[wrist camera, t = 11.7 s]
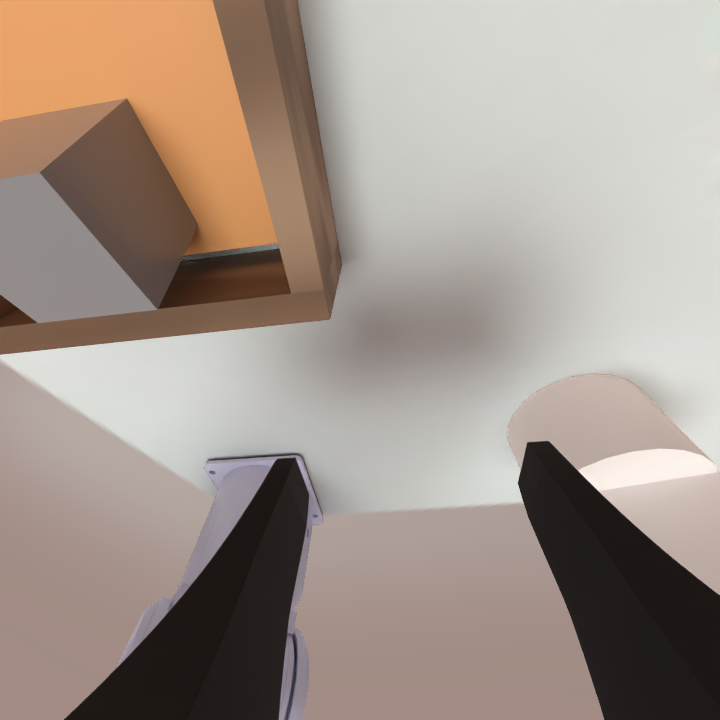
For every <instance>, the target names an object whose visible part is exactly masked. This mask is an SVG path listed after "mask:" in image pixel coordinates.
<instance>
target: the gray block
mask: <svg viewBox="0 0 720 720" xmlns="http://www.w3.org/2000/svg"><path fill="white" fill-rule="evenodd" d="M197 227H198V223H197V222H196V220H195V218H194V216H193V214H192V213H191V211H190V209H189V207H188V206H187V204H186V202H185V200H184V199H183V197H182V195H181V193H180V191H179V190H178V188H177V186H176V184H175V183H174V181H173V179H172V177H171V176H170V174H169V172H168V170H167V168H166V167H165V165H164V163H163V161H162V160H161V158H160V156H159V154H158V152H157V151H156V149H155V147H154V145H153V144H152V142H151V140H150V138H149V137H148V135H147V133H146V131H145V129H144V128H143V126H142V124H141V122H140V121H139V119H138V117H137V115H136V114H135V112H134V110H133V108H132V106H131V105H130V103H129V101H128V99H127V98H125V99H120V100H114V101H108V102H103V103H97V104H92V105H86V106H80V107H75V108H69V109H64V110H58V111H53V112H47V113H41V114H36V115H30V116H25V117H19V118H14V119H8V120H3V121H1V122H0V295H2V296H3V297H4V298H6V299H7V300H8V301H10V302H11V303H12V304H13V305H15V306H16V307H17V308H19V309H20V310H21V311H23V312H24V313H25V314H27V315H28V316H29V317H31V318H32V319H33V320H35V321H36V322H37V323H45V322H54V321H62V320H71V319H80V318H89V317H98V316H107V315H116V314H125V313H133V312H142V311H151V310H158V308H159V306H160V304H161V302H162V299H163V297H164V295H165V293H166V291H167V289H168V287H169V285H170V283H171V281H172V279H173V277H174V275H175V272H176V270H177V268H178V266H179V264H180V262H181V260H182V258H183V256H184V254H185V252H186V250H187V248H188V245H189V243H190V241H191V239H192V237H193V235H194V233H195V231H196V229H197Z"/></svg>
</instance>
